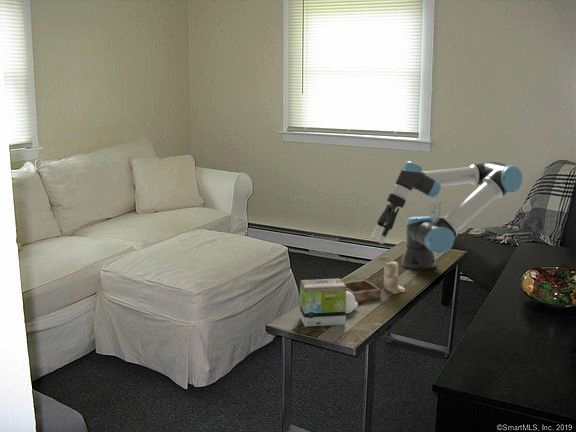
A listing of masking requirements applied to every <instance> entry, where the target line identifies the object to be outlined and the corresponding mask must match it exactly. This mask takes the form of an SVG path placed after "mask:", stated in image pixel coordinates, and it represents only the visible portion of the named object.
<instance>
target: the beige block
mask: <svg viewBox="0 0 576 432" xmlns="http://www.w3.org/2000/svg"><path fill="white" fill-rule="evenodd" d="M383 289H384V290H386V291H388V292H390V293H392V294H394V295H395V294H401V292H402V293H405V292H406V288H405V287H404V286H400V285H399V262H398V261H395V260H393V261H388V262H387V261H386V262H384V263H383Z"/></svg>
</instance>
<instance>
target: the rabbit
mask: <svg viewBox="0 0 576 432" xmlns="http://www.w3.org/2000/svg"><path fill="white" fill-rule="evenodd" d="M358 303H359V302H355V297H354V295H353V294H352V293H351V292H349V291H346V314H350V313H352V312H353V310H356V309H357V308H358V306H359V304H358Z"/></svg>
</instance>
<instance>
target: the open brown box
mask: <svg viewBox="0 0 576 432" xmlns="http://www.w3.org/2000/svg"><path fill="white" fill-rule="evenodd" d="M343 283H344V284H345V286H346V291H349V292H351V293H352V294H353V295H354V297H355V302H357V303H362V302H368V301H375V300H381V288H379V287H377V285H374V284H373V283H372V282H369V281H368V280H365V279H364V280H362V279H361V280H356V281H348V282H343Z"/></svg>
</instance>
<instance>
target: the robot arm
mask: <svg viewBox="0 0 576 432" xmlns="http://www.w3.org/2000/svg"><path fill="white" fill-rule="evenodd" d="M422 169H423V167H422V166H421V165H419V164H418V163H415V162H413V161H410V160H408V161H405V163H404V164H403V166H402V168H401V170H400V172H399V175H398V177H397V179H396V181H395V183H394V184H392V190H391V193H389V195H388V197H387V199H386V201H387V202H388V203H390V204H387V205H386V207H385V208H384V210H383V212H382V213H381V215H380V216H379V218H378V220H377V222H376V223H377V224H376V226H375V228H374V231H373V232H372V234H371V236H370V239H373V240H374V241H376V242H377V243H379V244H381V245H383V244H384V242H385V240H386V238H387V237H388V234H389V232H390V230H392V229H393V227H394V224H395V221H396V219H397V216H398V213H399V211H400V208H401V209H403V208H404V206H405V205H406V202H407V201H406V200H408V199H409V196H410V194H411V192H412V191H414V192H417V193H421V194H424V195H425V196H426V197H430V198H435V197H437V196H439V194H440V192H441V189H442V187H446V186H447V187H449V186H454V185H455V186H458V185H465V184H470V185H472V186H475V185H476V186H478V187H477V188H476V189H474V191H472V192H471V193H470V194H469V195H467V197H465V199H463V200H462V201H461V202H460V203H458V204H457V205H456V206H455V207H454V208H452V209H451V210H450V211H449V212H448V213H447V214H446V215H445V216H438V217H437V218H436V219H434V218H433V217H432V216H428V215H427V216H426V215H424V216H417V215H416V216H411V217H408V218H407V220H406V239H405V240H406V244H405V245H406V248H405V251H404V254H403V257H402V259H401V266H402V267H403V268H407V269H409V270H421V271H422V270H423V271H424V270H431V269H434V268H435V267H436V260H435V256H434V253H437V254H441V253H446V252H448V251H450V249H451V248H452V247H453V245H454V244H455V243H454V241H455V239H456V238H457V236H458V231H460V230H461V229H462V228H463V227H464V226H465V225H467V224H468V223H469V222H470V221H471V220H472V219H474V218H475V216H477V215H478V214H479V213H480V212H482V210H484V209H485V208H486V207H487V206H488V205H489V204H490V203H492V202H493V201H494V200H495V199H502V198H503V197H504V196H505V195H506V194H507V193H514V192H518V190H519V189H520V188H521V186H522V184H523V173H522V171H521V169H520V168H519V167H518V166H515V165H513V164H509V163H508V164H506V163H502V162H497V161H487V162H481V163H472V164H470V165H469V166H466V167H457V168H456V167H455V168H447V169H436V170H426V171H425V170H424V171H422Z"/></svg>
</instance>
